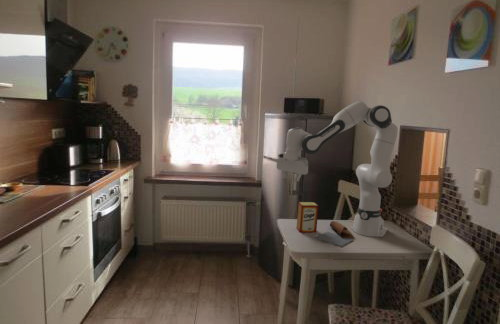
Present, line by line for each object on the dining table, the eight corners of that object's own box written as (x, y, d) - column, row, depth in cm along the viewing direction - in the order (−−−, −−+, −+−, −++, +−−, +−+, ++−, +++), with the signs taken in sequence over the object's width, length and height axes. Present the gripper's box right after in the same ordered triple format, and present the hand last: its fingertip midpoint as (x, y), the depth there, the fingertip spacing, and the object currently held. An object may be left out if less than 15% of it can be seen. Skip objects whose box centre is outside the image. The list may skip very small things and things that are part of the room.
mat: (327, 232, 188) (327, 231, 188) (353, 240, 178) (353, 239, 178) (314, 237, 178) (314, 236, 178) (341, 247, 168) (341, 245, 168)
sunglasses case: (355, 237, 180) (350, 226, 179) (344, 243, 180) (339, 232, 179) (343, 226, 198) (338, 217, 197) (332, 232, 198) (328, 222, 197)
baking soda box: (299, 232, 185) (302, 204, 183) (296, 228, 192) (298, 201, 189) (316, 232, 187) (318, 205, 184) (312, 228, 193) (314, 201, 191)
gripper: (311, 158, 187) (309, 182, 189) (282, 153, 201) (280, 176, 203) (305, 158, 182) (303, 183, 185) (275, 154, 196) (274, 177, 198)
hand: (291, 179), depth 194 cm, fingers open, 7 cm apart
